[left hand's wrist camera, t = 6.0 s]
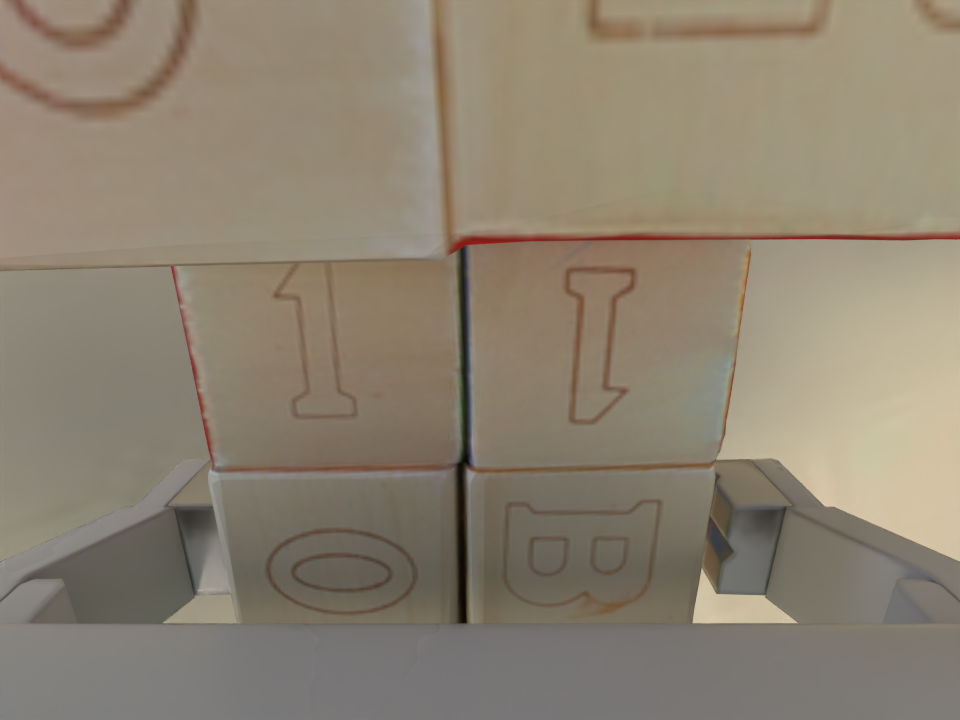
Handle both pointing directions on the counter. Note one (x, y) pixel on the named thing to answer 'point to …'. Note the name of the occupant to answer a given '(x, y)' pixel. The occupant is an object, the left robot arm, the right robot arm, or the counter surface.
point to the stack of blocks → (467, 261)
